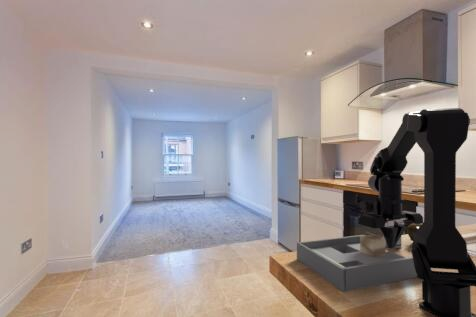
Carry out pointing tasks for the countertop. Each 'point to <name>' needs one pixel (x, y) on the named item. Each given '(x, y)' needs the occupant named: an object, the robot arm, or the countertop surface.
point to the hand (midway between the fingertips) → (391, 248)
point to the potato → (410, 230)
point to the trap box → (353, 263)
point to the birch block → (373, 245)
